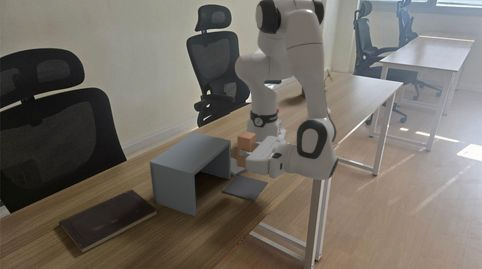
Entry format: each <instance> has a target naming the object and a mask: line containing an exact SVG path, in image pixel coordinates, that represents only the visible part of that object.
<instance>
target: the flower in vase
mask: <svg viewBox="0 0 482 269" xmlns="http://www.w3.org/2000/svg"><path fill="white" fill-rule="evenodd" d="M326 72H327V76H326V77H325V78H324V89H325V88H326V87H327V84H326V80H327V78H329V79H330V81H331V82H332V83H333V82H334V79H333V77H332V74H331V72H330V70H329V68H326ZM328 91H329V90H328V89H325V95H326V94H327V93H328ZM327 110H328V114H329V116H330V115H331V114H332V112H331V110H330V108H329V107H328V106H327Z"/></svg>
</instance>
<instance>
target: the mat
mask: <svg viewBox="0 0 482 269" xmlns="http://www.w3.org/2000/svg"><path fill="white" fill-rule="evenodd" d="M267 185H268V181H265V180H261V179H257V178H253V177H250V176H247V175H246V176H245V175H242V174H237V175H236V176H235V175H234V177H233V179H232V180H230V181H229V182H228V184H227V185H226V186H225V187H224V188H223V189H222V190H221V192H222V193H224V194H228V195H231V196H235V197H238V198H241V199H244V200H249V201H252V202H255V201H256V199H257V198H258V197H259V195H260V194H261V193H262V192H263V190H264V189H265V187H266V186H267Z"/></svg>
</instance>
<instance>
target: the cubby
mask: <svg viewBox="0 0 482 269" xmlns="http://www.w3.org/2000/svg"><path fill="white" fill-rule="evenodd" d="M231 148H232V140H230V139H226V138H222V137H217V136H214V135H213V136H212V135H209V134H203V133H200V132H196V131H195V132H192V133H190V134H188V136H186V137H184V138H183V139H181V140H180V141H178V142H177V143H175V144H173V146H171V147H170V148H167V149H166V150H165V151H163V152H162V153H160V154H158V155H157V156H156V157H154V158H153V159H151V160H150V161H149V168H150V177H151V183H152V184H151V186H152V194H153V203H155V204H157V205H160V206H163V207H166V208H169V209H172V210H174V211H177V212H180V213H184V214H186V215H189V216H192V217H195V216H196V215H197V204H196V203H197V202H196V184H195V183H196V182H195V180H196V179H195V175H196V174H198V173H199V172H200V173H201V172H202V173H205V174H209V175H212V176H216V177H219V178H223V179H226V180H230V179H231V177H232V174H231V157H232V156H231V155H232V154H231V153H232V152H231V150H232V149H231Z"/></svg>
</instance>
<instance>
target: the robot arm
mask: <svg viewBox="0 0 482 269" xmlns="http://www.w3.org/2000/svg"><path fill="white" fill-rule="evenodd" d="M324 17H325V6H324V3H323V1H322V0H260V1H259V2H258V4H257V6H256V9H255V23H256V26H257V27H256V28H257V29H258V30H259V31H258V37H257V46H258V48H259V50H260V51H261V52H262V53H259V52H258V53H247V54H243V55H240V56H239V57H238V58H237V59H236V61H235V64H234V71H235V74H236V76H237V77H238V79H239V80H241V81H242V82H244V83H245V85H246V86H247V87H248V90H249V92H250V98H251V100H250V102H251V106H250V107H251V109H250V112H249V119H248V120H247V123H246V130H245V132H250V133H255V134H256V145H255V150H254V151H253V152H249V153H248V152H247V151H246V150H245V149H241V150H240V151H239V155H240V156H244V157H245V158H246V159H245V169H246V172H247V171H248V172H250V173H254V174H257V175H260V176H261V175H262V176H267V175H268V177H269V178H271V179H276V178H278V177H279V176H281V175H283V174H286V173H288V174H297V175H300V176H302V177H304V178H309V179H313V180H318V181H326V180H329V179H330V178H331V177H332V176H333V175H334V173H335V171H336V168H337V167H338V162H339V157H338V156H337V154H336V151H335V149H334V146H333V143H334V141H335V139H336V137H337V128H336V125H335V124H334V122H333V120H332V119H331V117H330V115H329V114H328V110H327V107H328V104H327V97H326V94H325V87H324V80H325V50H324V40H323V34H322V33H323V32H322V30H321V24H323V21H324ZM293 77H294V78H295V79H296V80H297V81H298V83H299V84H300V85H301V88H302V87H303V90H304V93H305V103H306V110H307V120H305V121H303V122H302V123H301V124H300V125H299V126H298V128H297V130H296V145H295V144H291V143H290V142H288V141H287V140H286V139H285V136H286V134H287V130H286V129H285V128H283V122H282V120H281V119H280V118H279V113H280V108H278V94H277V92H276V90H274V89H273V88H270V87H269V86H266V85H265V82H266V81H283V80H287V79H290V78H291V79H292V78H293Z"/></svg>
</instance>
